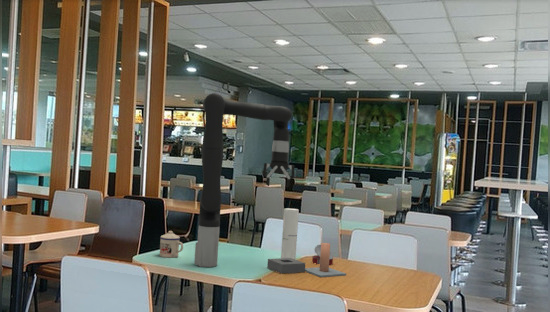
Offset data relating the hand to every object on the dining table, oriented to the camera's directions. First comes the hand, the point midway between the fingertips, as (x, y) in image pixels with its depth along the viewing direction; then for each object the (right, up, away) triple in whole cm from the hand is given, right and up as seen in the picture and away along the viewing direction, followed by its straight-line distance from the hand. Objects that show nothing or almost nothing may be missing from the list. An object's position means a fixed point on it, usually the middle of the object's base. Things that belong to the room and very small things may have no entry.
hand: (277, 186), depth 229 cm
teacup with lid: (-50, -33, +8) cm, 60 cm away
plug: (+20, -37, -7) cm, 42 cm away
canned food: (+22, -38, +16) cm, 47 cm away
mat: (+20, -37, -7) cm, 43 cm away
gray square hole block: (+4, -36, -6) cm, 37 cm away
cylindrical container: (+5, -37, +16) cm, 40 cm away
